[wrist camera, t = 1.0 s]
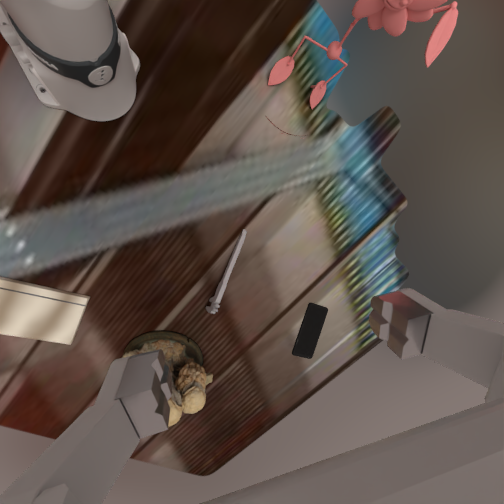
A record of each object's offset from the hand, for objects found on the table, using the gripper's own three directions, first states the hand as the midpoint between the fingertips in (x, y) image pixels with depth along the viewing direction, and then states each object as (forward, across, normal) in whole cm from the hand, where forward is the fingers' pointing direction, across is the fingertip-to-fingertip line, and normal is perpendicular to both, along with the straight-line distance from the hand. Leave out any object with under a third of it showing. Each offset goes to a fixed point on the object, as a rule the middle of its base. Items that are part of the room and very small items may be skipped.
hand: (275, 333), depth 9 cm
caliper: (+44, 0, +18) cm, 48 cm away
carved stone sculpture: (+36, +16, +33) cm, 52 cm away
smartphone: (+42, -20, +42) cm, 62 cm away
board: (+37, +39, +13) cm, 55 cm away
